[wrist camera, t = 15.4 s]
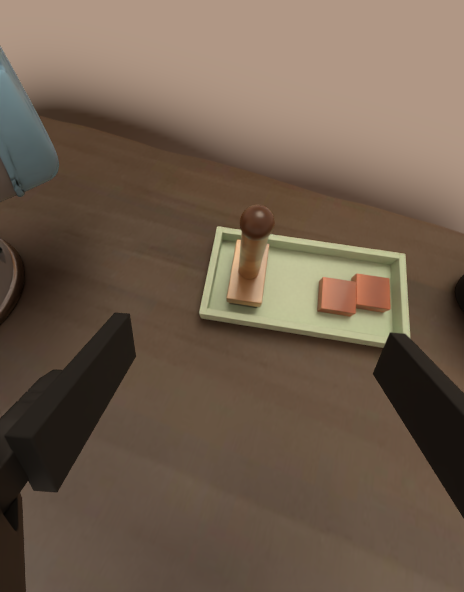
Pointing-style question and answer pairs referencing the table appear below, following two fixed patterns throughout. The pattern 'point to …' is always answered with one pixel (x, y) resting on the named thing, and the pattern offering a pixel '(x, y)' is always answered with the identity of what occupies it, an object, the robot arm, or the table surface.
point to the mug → (460, 292)
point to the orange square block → (372, 292)
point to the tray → (308, 289)
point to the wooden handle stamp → (251, 257)
